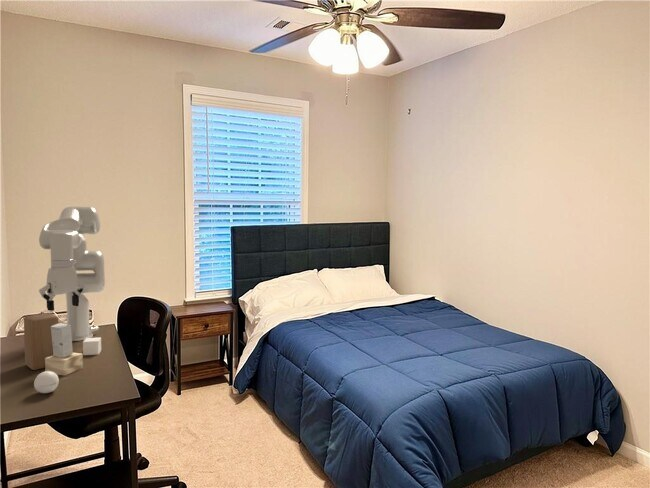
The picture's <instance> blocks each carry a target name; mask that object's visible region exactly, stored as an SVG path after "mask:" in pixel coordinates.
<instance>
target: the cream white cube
mask: <svg viewBox="0 0 650 488" xmlns="http://www.w3.org/2000/svg"><path fill="white" fill-rule="evenodd" d="M101 351H102V337H101V336H100V337H92V338H86V339H85V340H82V354H83V356H96V355H100V353H101Z"/></svg>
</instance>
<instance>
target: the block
mask: <svg viewBox="0 0 650 488" xmlns="http://www.w3.org/2000/svg"><path fill="white" fill-rule="evenodd" d="M59 321H60V318H59V316H57V315H55V314H53V313H50V312H48V313H41V314H40V313H39V314H32V315H31V314H30V315H26V316H24V318H23V330H24V331H23V334H24V335H23V336H24V337H23V338H24V364H25V365H26V366H27V368H29V369H30V370H32V371H36V370H41V369H45V358H47V357H50V356H53V345H52V335H51V326H53V325H56V324H58V323H60V322H59Z"/></svg>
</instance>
